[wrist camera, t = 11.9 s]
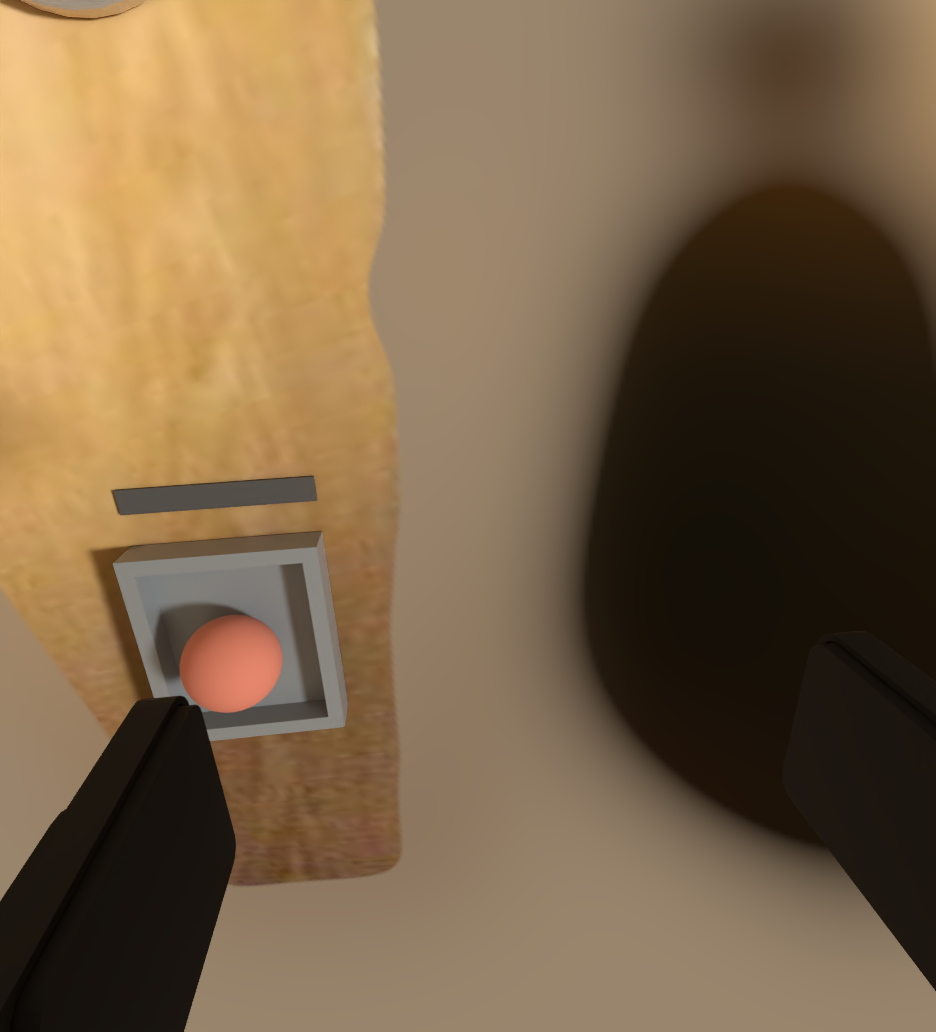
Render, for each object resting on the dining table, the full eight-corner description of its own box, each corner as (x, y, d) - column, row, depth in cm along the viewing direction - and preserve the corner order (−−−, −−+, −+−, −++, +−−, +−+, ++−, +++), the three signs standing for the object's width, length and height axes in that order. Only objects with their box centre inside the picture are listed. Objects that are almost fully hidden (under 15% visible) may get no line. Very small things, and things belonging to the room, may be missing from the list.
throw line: (114, 489, 35) (113, 491, 35) (313, 475, 36) (313, 476, 36) (121, 514, 35) (120, 515, 35) (317, 499, 36) (316, 500, 36)
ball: (190, 601, 37) (151, 656, 32) (282, 593, 38) (260, 647, 32) (210, 675, 40) (177, 738, 34) (297, 667, 40) (278, 729, 35)
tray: (131, 546, 36) (112, 563, 34) (322, 531, 37) (316, 547, 35) (181, 720, 41) (168, 745, 39) (347, 702, 42) (344, 726, 40)
